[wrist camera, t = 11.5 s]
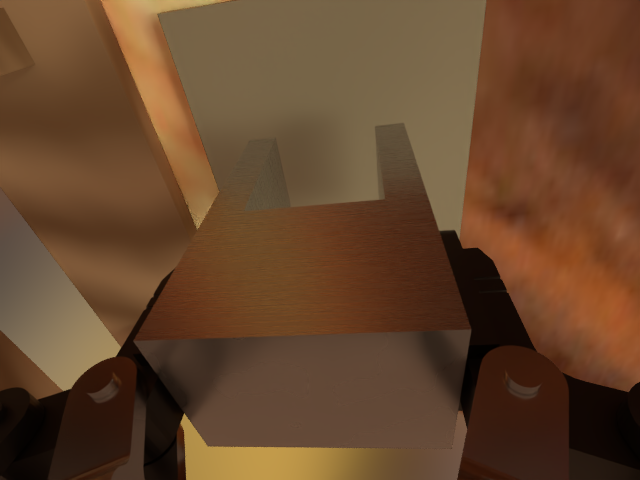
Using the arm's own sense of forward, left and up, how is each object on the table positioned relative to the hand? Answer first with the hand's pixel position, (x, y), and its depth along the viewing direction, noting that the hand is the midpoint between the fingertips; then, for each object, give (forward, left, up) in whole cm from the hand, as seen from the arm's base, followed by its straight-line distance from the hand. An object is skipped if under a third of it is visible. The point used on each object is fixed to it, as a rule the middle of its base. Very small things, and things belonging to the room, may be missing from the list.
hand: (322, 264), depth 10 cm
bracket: (0, 0, -5) cm, 5 cm away
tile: (0, 0, -9) cm, 9 cm away
